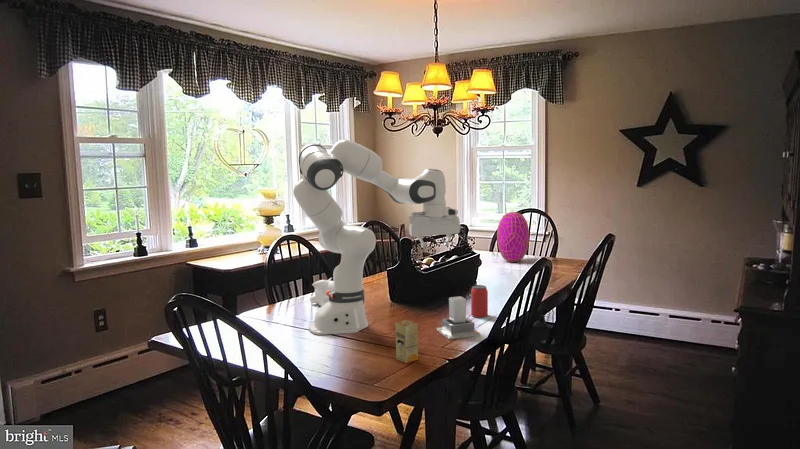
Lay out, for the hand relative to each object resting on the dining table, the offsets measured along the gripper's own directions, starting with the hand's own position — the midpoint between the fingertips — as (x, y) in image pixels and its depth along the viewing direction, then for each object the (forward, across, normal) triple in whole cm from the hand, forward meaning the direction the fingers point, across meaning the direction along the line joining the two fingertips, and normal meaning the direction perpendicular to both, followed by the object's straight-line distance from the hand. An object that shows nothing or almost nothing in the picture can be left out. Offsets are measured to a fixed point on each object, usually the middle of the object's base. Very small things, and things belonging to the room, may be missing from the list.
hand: (435, 246), depth 220 cm
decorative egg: (+29, +89, +97) cm, 135 cm away
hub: (+29, +1, -19) cm, 35 cm away
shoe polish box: (+29, -25, -38) cm, 54 cm away
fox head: (+29, -36, +38) cm, 60 cm away
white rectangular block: (+28, +1, -19) cm, 34 cm away
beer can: (+29, +18, -2) cm, 34 cm away
